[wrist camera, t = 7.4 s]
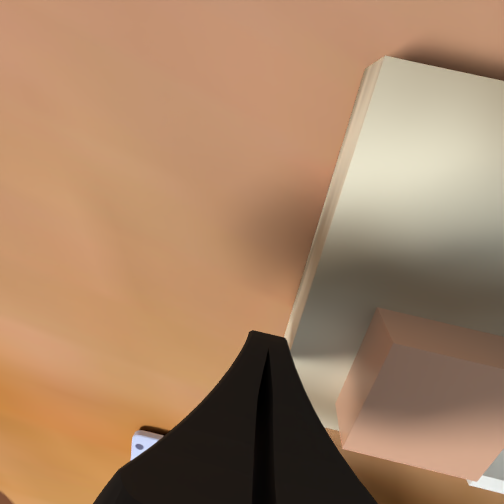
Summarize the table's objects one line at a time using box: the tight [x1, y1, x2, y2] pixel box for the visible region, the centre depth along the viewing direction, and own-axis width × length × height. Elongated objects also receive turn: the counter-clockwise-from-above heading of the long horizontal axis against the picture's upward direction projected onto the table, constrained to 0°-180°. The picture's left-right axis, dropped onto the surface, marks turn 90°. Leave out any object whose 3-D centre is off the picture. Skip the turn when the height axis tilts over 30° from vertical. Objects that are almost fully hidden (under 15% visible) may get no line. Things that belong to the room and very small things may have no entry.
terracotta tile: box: [335, 307, 504, 482], centre depth 11 cm, size 5×5×2 cm
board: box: [284, 56, 504, 431], centre depth 12 cm, size 14×9×2 cm, turn 169°
